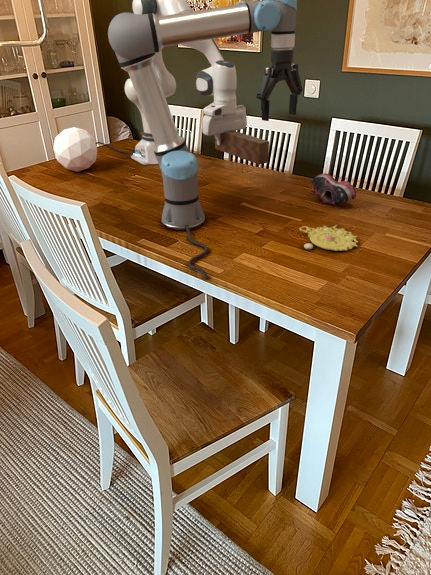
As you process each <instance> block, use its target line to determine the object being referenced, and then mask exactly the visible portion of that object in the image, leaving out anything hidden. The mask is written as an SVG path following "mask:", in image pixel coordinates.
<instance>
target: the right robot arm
mask: <svg viewBox="0 0 431 575" xmlns="http://www.w3.org/2000/svg"><path fill="white" fill-rule="evenodd" d="M297 11H298V0H243V1H237V2H236V3H235V4H231V5H225V6H219V7H212V8H205V9H199V10H192V12H185V13H179V14H172V15H166V16H159V17H158V16H156V15H155V14H154V13H151V14H134V13H133V12H130V11H124V12H120V13H119V14H116V15H114V17H113V18H112V19H111V21H110V22H109V26H108V30H107V36H108V37H107V38H108V42H109V45H110V48H112V51H114V53H115V56H116V59H117V61H118V64H119V66H120V69H122V70H124V71H125V72H126V73H127V74H128V76H129V79H131V82H132V84H133V87H134V89H135V92H136V94H137V97H138V100H139V102H140V105H141V107H142V110H143V113H144V115H145V118H146V120H147V123H148V126H149V128H150V131H151V133H152V136H153V139H154V141H155V147H154V149H153V150H154V153H155V156H156V158H157V161H158V163H159V164H158V166H159V170H160V172H161V177H162V184H163V194H164V204H163V209H162V213H161V219H160V220H161V225H162V227H163V228H165V229H167V230H170V231H175V232H176V231H177V232H185V231H186V233H187V237H188V240H189V242H190V243H191V244H193V245H195V246H197V247H201V248H203V249H204V251H203V252H201V253H199V254H197V255H195V256H193V257H191V258H190V259H189V260H188V263H187V266H188V267H189V268H190V269H192V270H195V271H197V272H200V273H201V274H202V275H203V277H204V280H206V281H208V280H209V276H208V274H207V272H206V271H205V270H204V269H203V268H201V267H199V266H195V265H194V264H193V265H192V263H193V262H195V261H196V260H198V259H200V258H202V257H204V256H206V255H207V254H208V253H209V247H208V246H207V245H206V244H203V243H202V242H198V241H196V240H194V239H193V237H192V234H191V231H192V230H195V229H198V228H201V227H202V226H203V225H204V224H205V223H206V216H205V212H204V210H203V208H202V204H201V202H200V196H199V179H198V178H199V176H198V168H199V166H198V160H197V157H196V155H194V153H192V152H190V150H189V148H188V145H187V142H186V139H185V138H184V137H183V136H181V135H179V132H178V130H177V127H176V124H175V121H174V118H173V115H172V112H171V109H170V107H169V104H168V101H167V97H166V98H165V95H164V92H163V89H162V87H161V84H160V81H159V78H158V75H157V72H156V70H155V67H154V64H153V61H154V58H155V56H156V55H155V53H156V52H160V51H161V50H162V51H163V48H167V47H168V48H169V47H173V46H181V44H186V43H192V42H198V41H204V40H210V39H213V40H215V39H222V38H228V37H233V36H240V35H245V34H253V33H260V32H262V33H267V32H271V33H270V34H271V35H270V36H271V37H270V38H271V39H270V40H271V41H270V48H271V50H270V59H269V60H270V63H271V67H270V66H265V67H264V69H263V75H262V78H261V82H260V85H259V88H258V90H257V93H256V96H255V97H256V99H258V100H260V110H261V121H266V122H269V121H270V103H271V102H270V100H269V98H270V96H271V94H272V93H273V90H274V88H275V87H276V85H277V84H278V83H279V82H281V81H285V83H286V85H287V87H288V89H289V91H290V93H291V94H289V102H288V103H289V105H288V115H291V116H292V115H293V116H296V115H297V105H298V99H299V96H300V95H301V93H302V92H303V91H304V89H303V85H302V81H301V77H300V74H299V64H298V63H293V62H294V56H295V50H294V49H293V48H295V42H296V41H295V40H296V22H297V21H296V20H297Z"/></svg>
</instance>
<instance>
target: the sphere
mask: <svg viewBox="0 0 431 575" xmlns="http://www.w3.org/2000/svg"><path fill="white" fill-rule="evenodd" d="M53 142H54V143H53V148H52V149H53V153H54V156H55V158H56V161H57V162H58V163H59V164H60V165H62V166H63V167H64V168H65V169H66V170H69V171H73V172H76V173H78V172H82V171H84V170H87V169H89V168H90V167H92V165H93V164H95V163H96V161H97V157H98V156H97V155H98V147H97V144H96V140H95V138H94V137H93V135H91V134H90V133H89V132H88V131H87V130H86V129H83V128H81V127H75V126H73V127H68V128H65V129H62V130H61V132H60V133H59V134H58V135H56V136H55V138H54V141H53Z"/></svg>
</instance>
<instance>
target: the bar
mask: <svg viewBox="0 0 431 575" xmlns="http://www.w3.org/2000/svg"><path fill="white" fill-rule="evenodd" d="M219 138H220V140H222V145H217V140H216V138H215V137H214V149H215V150H217V151H219V152H223V153H225V154H228V155H231V156H233V157H237V158H239V159H241V160H245V161H247V162H251V163H254V164H256V165H259V166H261V165H264V164H268V163H269V157H270V156H269V155H270V140H266V139H263V138H261V137H257V136H254V135H250V134H246V133H243V132H240V131H238V130H236V131H233V130H231V131H226V132H224V133H222V134H220V137H219Z"/></svg>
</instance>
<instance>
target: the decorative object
mask: <svg viewBox="0 0 431 575" xmlns="http://www.w3.org/2000/svg"><path fill="white" fill-rule="evenodd" d="M303 228H304V229H305V230H304V229H303ZM299 231H300V232H303V233H305V234H307V237H308V238H309V240H310V241H311V243H304V244H303V248H304V249H305V250H313V249H314V245H315V246H316V247H318V248H321V249H324V250H328V251H335V252H341V251H348V250H352V249H354V247H356V248H358V247H359V245H358V244H357V243H359V240H357V238H359V237H358V235H353V234H352V231H347V230H346V229H345V228H344V227H342V228H338V224H335V225H333V226H331V227H328V226H327V225H326V224H325V225H323V226H322V227H321V226H317V227H316V228H314V227H309V226H308V225H302V226H300V227H299ZM313 244H314V245H313Z"/></svg>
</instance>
